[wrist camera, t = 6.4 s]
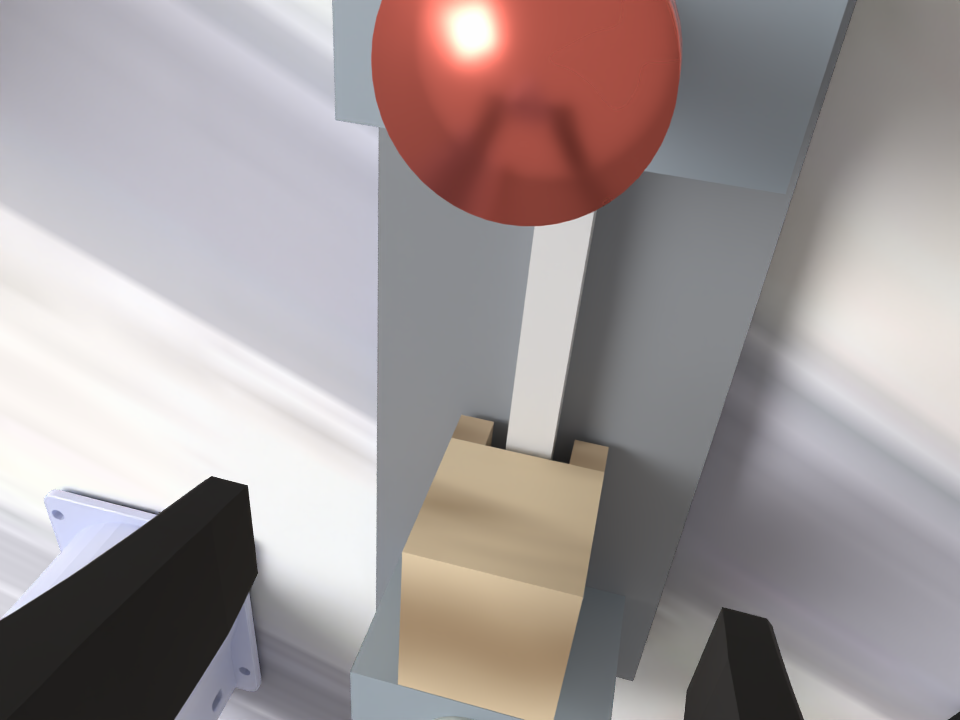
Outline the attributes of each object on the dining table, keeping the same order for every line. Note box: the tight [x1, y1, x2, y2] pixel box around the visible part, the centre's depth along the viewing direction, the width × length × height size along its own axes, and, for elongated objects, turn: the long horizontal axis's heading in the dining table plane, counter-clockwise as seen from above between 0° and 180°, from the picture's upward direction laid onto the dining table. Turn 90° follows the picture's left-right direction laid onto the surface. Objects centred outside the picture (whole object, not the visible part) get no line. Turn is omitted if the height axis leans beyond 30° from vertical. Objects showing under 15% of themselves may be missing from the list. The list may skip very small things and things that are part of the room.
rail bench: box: [332, 0, 857, 720], centre depth 19 cm, size 23×9×6 cm, turn 175°
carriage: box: [398, 415, 609, 720], centre depth 20 cm, size 5×4×5 cm
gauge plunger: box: [371, 0, 682, 226], centre depth 10 cm, size 3×3×4 cm
